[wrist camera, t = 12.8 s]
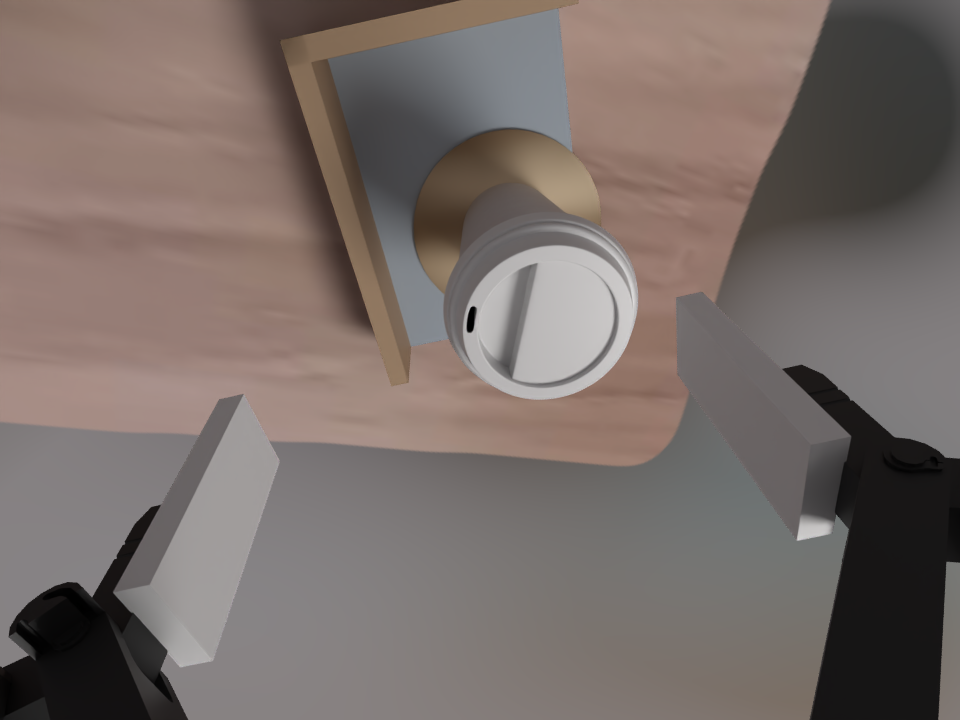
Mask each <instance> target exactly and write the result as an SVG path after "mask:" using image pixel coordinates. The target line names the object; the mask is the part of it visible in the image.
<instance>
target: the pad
mask: <svg viewBox="0 0 960 720" xmlns="http://www.w3.org/2000/svg"><path fill="white" fill-rule="evenodd" d="M503 183H521V184H525V185H528V186H530V187H532V188H534V189H536V190H537V191H539V192H540V193H541V194H543V195H544V196H545V197H547V198H548V199H549V200H550V201H552V202H553V203H554V204H555V205H557V206H558V207H559V208H561V209H562V210H563V211H564V212H566V213H567V214H572V215H576V216H579V217H582V218H585V219H587V220H589V221H592V222H594V223H595V224H597V225H599V226H600V227H601V209H600V202H599V197H598V194H597V190H596V187H595V185H594V183H593V180H592V178H591V176H590V174H589V173H588V171H587V170H586V168H585V166H584V165H583V164H582V163H581V162H580V160H579V159H578V158H577V157H576V156H575V155H574V154H573V153H572V152H571V151H569V150H568V149H567V148H566V147H564V146H563V145H561V144H560V143H558V142H557V141H555V140H553V139H551V138H549V137H547V136H545V135H542V134H538V133H535V132H532V131H525V130H518V129H504V130H497V131H491V132H487V133H484V134H480V135H477V136H475V137H473V138H471V139H468V140H466V141H464V142H463V143H461V144H460V145H458V146H456V147H455V148H454V149H452V150H451V151H450V152H449V153H447V154H446V155H445V156H444V157H443V158H442V159H441V160H440V161H439V162H438V163H437V165H436V166H435V167H434V168H433V170H432V171H431V173H430V174H429V175H428V177H427V179H426V181H425V183H424V185H423V187H422V189H421V192H420V194H419V197H418V200H417V204H416V209H415V215H414V240H415V245H416V250H417V253H418V256H419V259H420V262H421V264H422V266H423V268H424V270H425V272H426V273H427V275H428V276H429V278H430V279H431V281H432V282H433V283H434V284H435V286H436V287H437V288H438V289H439V290H440V291H441V292H442V293H443V294H444V295H445V290H446V286H447V283H448V280H449V277H450V275H451V273H452V271H453V269H454V267H455V265H456V263H457V262H458V260H459V254H460V246H461V238H462V230H463V223H464V219H465V215H466V213H467V211H468V209H469V207H470V205H471V204H472V202H473V201H474V200H475V199H476V198H477V197H478V196H479V195H480V194H481V193H482V192H484V191H485V190H487V189H489V188H491V187H493V186H495V185H498V184H503Z"/></svg>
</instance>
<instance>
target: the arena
mask: <svg viewBox="0 0 960 720" xmlns="http://www.w3.org/2000/svg"><path fill="white" fill-rule="evenodd" d="M578 3H579V2H578V0H460V1H455V2H451V3H446V4H442V5H437V6H433V7H428V8H424V9H419V10H415V11H410V12H406V13H401V14H396V15H392V16H387V17H383V18H378V19H374V20H369V21H365V22H360V23H356V24H351V25H347V26H342V27H338V28H333V29H329V30H324V31H320V32H315V33H311V34H306V35H302V36H297V37H293V38H288V39H283V40H279V41H280V44H281V47H282V50H283V53H284V56H285V59H286V63H287V66H288V69H289V72H290V75H291V78H292V81H293V84H294V87H295V90H296V93H297V96H298V100H299V103H300V106H301V109H302V112H303V115H304V118H305V121H306V124H307V127H308V130H309V133H310V137H311V140H312V143H313V146H314V149H315V152H316V155H317V158H318V161H319V164H320V167H321V170H322V174H323V177H324V180H325V183H326V186H327V189H328V192H329V195H330V198H331V201H332V204H333V207H334V211H335V214H336V217H337V220H338V223H339V226H340V229H341V232H342V235H343V238H344V241H345V244H346V248H347V251H348V254H349V257H350V260H351V263H352V266H353V269H354V272H355V275H356V278H357V281H358V285H359V288H360V291H361V294H362V297H363V300H364V303H365V306H366V309H367V312H368V315H369V318H370V322H371V325H372V328H373V331H374V334H375V337H376V340H377V343H378V346H379V349H380V352H381V355H382V359H383V362H384V365H385V368H386V371H387V374H388V377H389V380H390V383H391V386H395V385H400V384H405V383H408V382H409V368H410V354H411V346H416V345H421V344H426V343H431V342H436V341H441V340H446V339H449V338H448V335H447V332H446V328H445V324H444V316H443V302H444V294H443V293H442V292H441V291H440V290H439V289H438V288H437V287H436V286H435V284H434V283H433V282H432V281H431V279H430V278H429V276H428V275H427V273H426V272H425V270H424V268H423V266H422V264H421V262H420V259H419V256H418V253H417V250H416V245H415V240H414V215H415V209H416V204H417V200H418V197H419V194H420V192H421V189H422V187H423V185H424V183H425V181H426V179H427V177H428V175H429V174H430V173H431V171H432V170H433V168H434V167H435V166H436V165H437V163H438V162H439V161H440V160H441V159H442V158H443V157H444V156H445V155H446V154H447V153H449V152H450V151H451V150H452V149H454V148H455V147H456V146H458V145H460V144H461V143H463V142H464V141H466V140H468V139H471V138H473V137H475V136H477V135H480V134H484V133H487V132H491V131H497V130H504V129H518V130H525V131H532V132H535V133H538V134H542V135H545V136H547V137H549V138H551V139H553V140H555V141H557V142H558V143H560V144H561V145H563V146H564V147H566V148H567V149H568V150H569V151H571V152H572V144H571V133H570V123H569V113H568V103H567V92H566V82H565V72H564V62H563V51H562V41H561V31H560V21H559V10H558V8H562V7H566V6H570V5H574V4H578Z"/></svg>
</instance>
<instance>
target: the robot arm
mask: <svg viewBox="0 0 960 720" xmlns="http://www.w3.org/2000/svg"><path fill="white" fill-rule="evenodd" d="M676 321H677V370H678V376H679V377H680V379H681V380H682V381H683V383H684V384H685V386H686V387H687V388H688V390H689V391H690V393H691V394H692V395H693V397H694V398H695V400H696V401H697V402H698V404H699V405H700V406H701V408H702V409H703V411H704V412H705V413H706V415H707V416H708V418H709V419H710V420H711V422H712V423H713V425H714V426H715V427H716V429H717V430H718V432H719V433H720V434H721V436H722V437H723V438H724V440H725V441H726V443H727V444H728V445H729V447H730V448H731V449H732V451H733V452H734V454H735V455H736V457H737V458H738V459H739V461H740V462H741V464H742V465H743V466H744V468H745V469H746V471H747V472H748V473H749V475H750V476H751V477H752V479H753V480H754V482H755V483H756V484H757V486H758V487H759V489H760V490H761V491H762V493H763V494H764V495H765V497H766V498H767V500H768V501H769V502H770V504H771V505H772V507H773V508H774V509H775V511H776V512H777V514H778V515H779V516H780V518H781V519H782V520H783V522H784V523H785V525H786V526H787V528H788V529H789V530H790V532H791V533H792V535H793V536H794V537H795V539H796V540H797V541H798V540H803V539H808V538H813V537H818V536H822V535H827V534H832V533H833V528H834V523H835V518H836V514H837V516H838V517H839V518H840V519H841V520H842V522H843V523H844V524H845V525H846V526H847V527H848V528H849V532H848V537H847V541H846V546H845V550H844V555H843V559H842V565H841V571H840V575H839V580H838V585H837V589H836V594H835V600H834V604H833V609H832V614H831V619H830V623H829V628H828V633H827V638H826V643H825V648H824V653H823V657H822V662H821V667H820V672H819V677H818V682H817V687H816V692H815V697H814V701H813V706H812V711H811V716H810V720H938V713H939V695H940V675H941V656H942V636H943V617H944V616H943V615H944V597H945V578H946V562H959V563H960V459H956V458H945V457H944V456H943V455H942V454H941V453H940V452H939V451H937V450H936V449H934V448H932V447H930V446H928V445H927V444H925V443H921V442H918V441H915V440H911V439H905V438H895V437H893V436H892V435H891V434H890V433H889V432H888V431H887V430H886V429H884V428H883V427H882V426H881V425H880V424H879V423H878V422H877V421H875V420H874V419H873V418H872V417H871V416H870V415H869V414H867V413H866V412H865V411H864V410H863V409H862V408H860V406H858V405H857V404H856V403H855V402H854V401H850V399H849V397H848V396H847V395H846V394H845V393H843V392H842V391H841V390H838V388H837V386H836V385H835V384H833V383H832V382H831V381H830V380H829V379H828V378H827V377H825V376H824V375H823V374H821V373H819V372H817V371H815V370H812V369H810V368H808V367H806V366H803V365H798V366H794V367H789V368H784V369H781V368H780V367H779V366H778V365H777V364H776V363H775V362H774V361H773V360H772V359H771V358H770V357H769V356H768V355H767V354H766V353H765V352H764V351H763V350H761V348H760V347H759V346H757V345H756V344H755V343H754V342H753V341H752V340H751V339H750V338H749V337H748V336H747V335H746V334H745V333H744V332H743V331H742V330H741V329H740V328H739V327H738V326H737V325H736V324H735V323H734V322H733V321H732V320H731V319H730V318H728V316H727V315H725V314H724V313H723V312H722V311H721V310H720V309H719V308H718V307H717V306H716V305H715V304H714V303H713V302H712V301H711V300H710V299H709V298H708V297H707V296H706V295H705V294H704V293H703V292H699V293H694V294H690V295H685V296H681V297H676ZM279 462H280V461H279V459H278V457H277V455H276V453H275V451H274V450H273V448H272V446H271V444H270V442H269V440H268V438H267V436H266V435H265V433H264V431H263V429H262V427H261V425H260V423H259V421H258V420H257V418H256V416H255V414H254V412H253V410H252V408H251V407H250V405H249V403H248V401H247V399H246V397H245V395H244V394H242V395H237V396H233V397H228V398H224V399H219V401H218V403H217V405H216V406H215V408H214V410H213V412H212V414H211V415H210V417H209V419H208V421H207V423H206V425H205V426H204V428H203V430H202V432H201V434H200V435H199V437H198V439H197V441H196V443H195V444H194V446H193V448H192V450H191V452H190V454H189V455H188V457H187V459H186V461H185V463H184V464H183V467H182V468H181V470H180V472H179V474H178V475H177V477H176V479H175V481H174V483H173V484H172V486H171V488H170V490H169V492H168V493H167V495H166V497H165V499H164V501H163V503H162V504H161V505H158V506H154V507H151V508H150V509H149V510H148V511H147V512H146V513H145V514H144V515H143V517H141V518H140V519H139V521H137V522H136V524H135V525H134V527H133V528H132V530H131V532H130V533H129V535H128V537H127V539H126V540H125V545H123V546H122V547H121V549H120V551H119V553H118V554H117V559H114V561H113V563H112V564H111V566H110V568H109V569H108V571H107V573H106V575H105V576H104V578H103V580H102V581H101V583H100V585H99V587H98V588H97V590H96V592H95V594H94V595H93V597H91V596H90V595H89V594H88V593H87V592H86V591H85V590H84V588H83V587H81V586H80V585H79V584H78V583H73V582H67V583H63V584H60V585H57V586H54V587H52V588H51V589H49V590H47V591H45V592H43V593H41V594H40V595H39V596H37V597H36V598H35V599H33V600H32V601H31V602H30V603H28V604H27V605H26V606H25V607H24V609H23V610H22V611H21V612H20V613H19V614H18V615H17V616H16V618H15V620H14V621H13V623H12V625H11V627H10V631H9V638H10V639H12V640H13V641H14V642H15V643H16V644H17V645H18V646H19V647H21V648H22V649H23V650H24V651H25V652H26V653H28V654H29V656H27V657H24V658H23V659H20V660H18V661H16V662H14V663H12V664H10V665H7V666H5V667H3V668H2V667H0V720H188V719H187V717H186V714H185V713H184V710H183V708H182V706H181V704H180V702H179V700H178V698H177V696H176V694H175V692H174V690H173V688H172V686H171V684H170V682H169V680H168V678H167V677H166V676H165V675H164V674H163V672H162V671H161V670H160V669H161V667H162V664H163V662H164V659H165V657H166V655H167V653H168V654H169V655H170V656H171V657H172V659H173V660H174V661H175V662H176V663H177V664H178V665H179V666H180V667H184V666H188V665H194V664H199V663H204V662H209V661H213V659H214V656H215V653H216V650H217V647H218V644H219V641H220V638H221V635H222V632H223V629H224V626H225V623H226V620H227V617H228V614H229V612H230V608H231V605H232V603H233V600H234V596H235V593H236V591H237V588H238V584H239V582H240V578H241V576H242V573H243V570H244V566H245V563H246V561H247V558H248V555H249V552H250V549H251V546H252V543H253V540H254V537H255V534H256V531H257V528H258V525H259V521H260V519H261V516H262V512H263V510H264V507H265V504H266V501H267V498H268V495H269V492H270V489H271V486H272V483H273V480H274V477H275V474H276V471H277V468H278V465H279Z"/></svg>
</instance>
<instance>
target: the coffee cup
mask: <svg viewBox="0 0 960 720" xmlns="http://www.w3.org/2000/svg"><path fill="white" fill-rule="evenodd" d="M637 308H638V289H637V281H636V276H635V272H634V269H633V266H632V263H631V261H630V259H629V257H628V255H627V253H626V252H625V250H624V249H623V247H622V246H621V245H620V243H619V242H618V241H617V240H616V239H615V238H614V237H613V236H612V235H611V234H610V233H609V232H607V231H606V230H605V229H603V228H602V227H600V226H599V225H597V224H595V223H594V222H592V221H589V220H587V219H585V218H582V217H579V216H576V215H572V214H567V213H566V212H564V211H563V210H562V209H561V208H559V207H558V206H557V205H555V204H554V203H553V202H552V201H550V200H549V199H548V198H547V197H545V196H544V195H543V194H541V193H540V192H539V191H537V190H536V189H534V188H532V187H530V186H528V185H525V184H521V183H503V184H498V185H495V186H493V187H491V188H489V189H487V190H485V191H484V192H482V193H481V194H480V195H479V196H478V197H477V198H476V199H475V200H474V201H473V202H472V204H471V205H470V207H469V209H468V211H467V213H466V215H465V219H464V223H463V230H462V238H461V246H460V254H459V260H458V262H457V263H456V265H455V267H454V269H453V271H452V273H451V275H450V277H449V280H448V283H447V286H446V290H445V295H444V302H443V316H444V324H445V328H446V332H447V335H448V338H449V340H450V343H451V345H452V347H453V348H454V350H455V352H456V353H457V355H458V356H459V358H460V359H461V360H462V362H463V363H464V364H465V365H466V367H467V368H468V369H469V370H470V371H471V372H473V373H474V374H475V375H476V376H478V377H479V378H480V379H482V380H483V381H484V382H486V383H488V384H489V385H491V386H493V387H495V388H497V389H499V390H501V391H503V392H505V393H507V394H510V395H513V396H517V397H521V398H526V399H553V398H559V397H563V396H567V395H570V394H573V393H576V392H578V391H580V390H582V389H584V388H586V387H588V386H590V385H592V384H593V383H595V382H596V381H597V380H599V379H600V378H601V377H603V376H604V375H605V374H606V373H607V372H608V371H609V370H610V369H611V368H612V367H613V366H614V365H615V363H616V362H617V361H618V359H619V358H620V356H621V355H622V353H623V351H624V350H625V348H626V345H627V343H628V341H629V338H630V335H631V332H632V330H633V327H634V323H635V319H636V314H637Z"/></svg>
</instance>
